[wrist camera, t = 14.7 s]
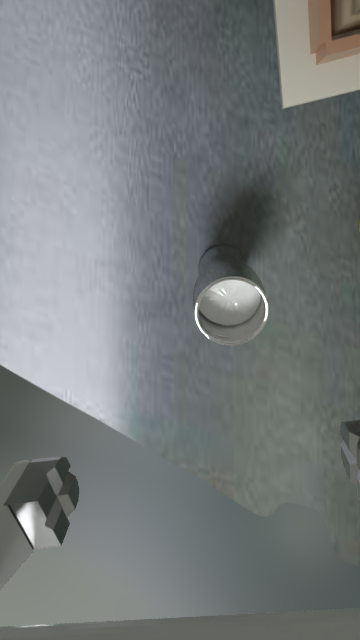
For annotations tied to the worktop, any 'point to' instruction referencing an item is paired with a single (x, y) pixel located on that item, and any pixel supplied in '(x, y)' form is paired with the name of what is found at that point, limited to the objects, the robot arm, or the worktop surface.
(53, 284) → the worktop surface
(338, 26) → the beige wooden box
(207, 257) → the beer glass
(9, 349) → the worktop surface
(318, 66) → the framed base plate
